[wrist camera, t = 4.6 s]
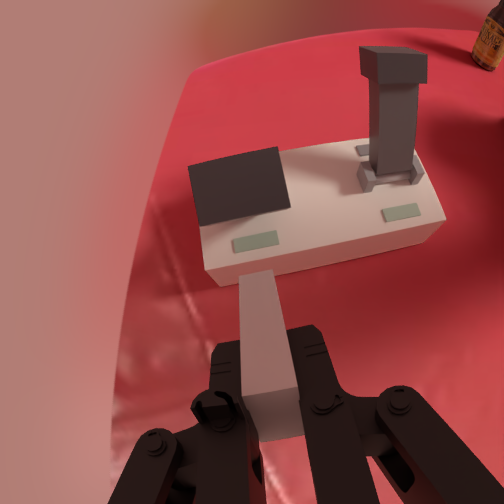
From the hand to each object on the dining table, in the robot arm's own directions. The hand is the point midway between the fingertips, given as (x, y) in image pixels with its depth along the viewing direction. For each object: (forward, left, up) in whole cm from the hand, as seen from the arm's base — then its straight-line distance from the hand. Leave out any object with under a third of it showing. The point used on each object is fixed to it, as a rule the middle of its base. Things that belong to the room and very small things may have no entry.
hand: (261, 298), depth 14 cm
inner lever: (-6, -15, -9) cm, 19 cm away
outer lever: (+5, -9, -9) cm, 14 cm away
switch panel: (-1, -12, -16) cm, 20 cm away
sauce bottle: (-27, -59, -16) cm, 67 cm away
